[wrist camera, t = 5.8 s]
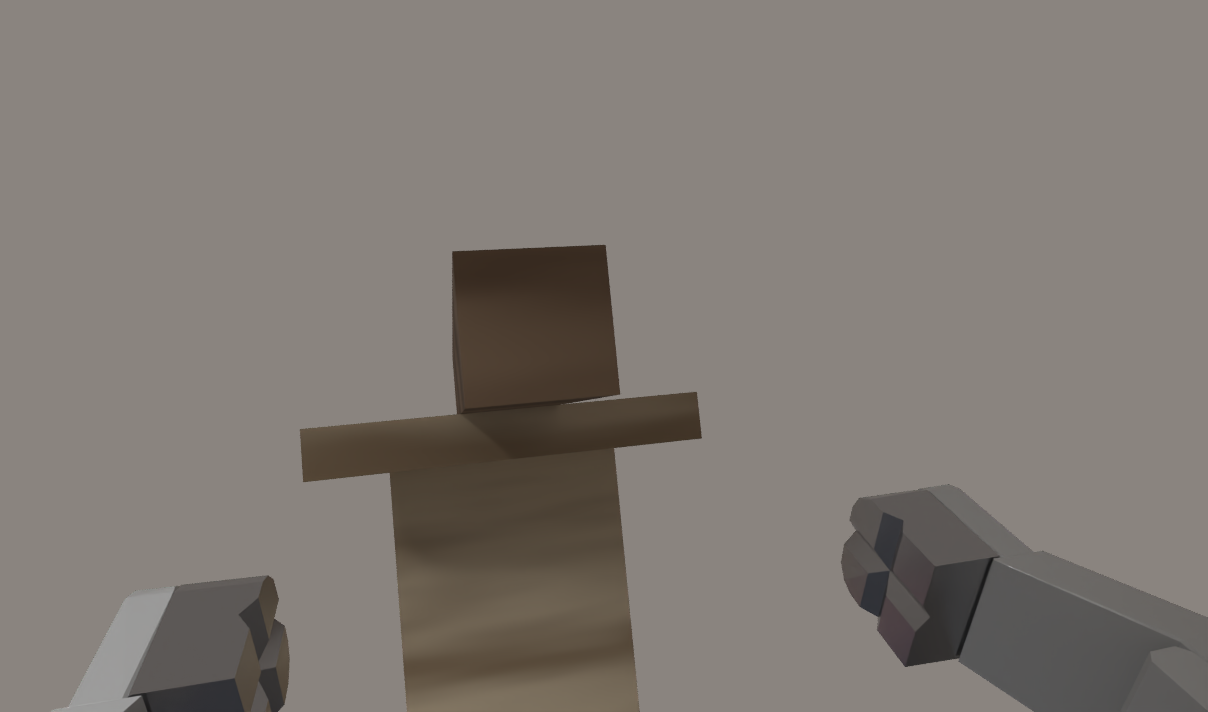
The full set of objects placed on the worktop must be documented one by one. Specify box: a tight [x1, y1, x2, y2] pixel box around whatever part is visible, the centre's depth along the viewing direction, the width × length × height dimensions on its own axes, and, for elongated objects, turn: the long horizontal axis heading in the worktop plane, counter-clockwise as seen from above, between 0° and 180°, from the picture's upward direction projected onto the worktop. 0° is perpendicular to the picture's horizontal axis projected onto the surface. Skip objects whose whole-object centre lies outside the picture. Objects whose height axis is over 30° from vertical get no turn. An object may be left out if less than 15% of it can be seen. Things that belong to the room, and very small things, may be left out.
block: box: [452, 245, 620, 414], centre depth 24 cm, size 22×3×3 cm, turn 13°
